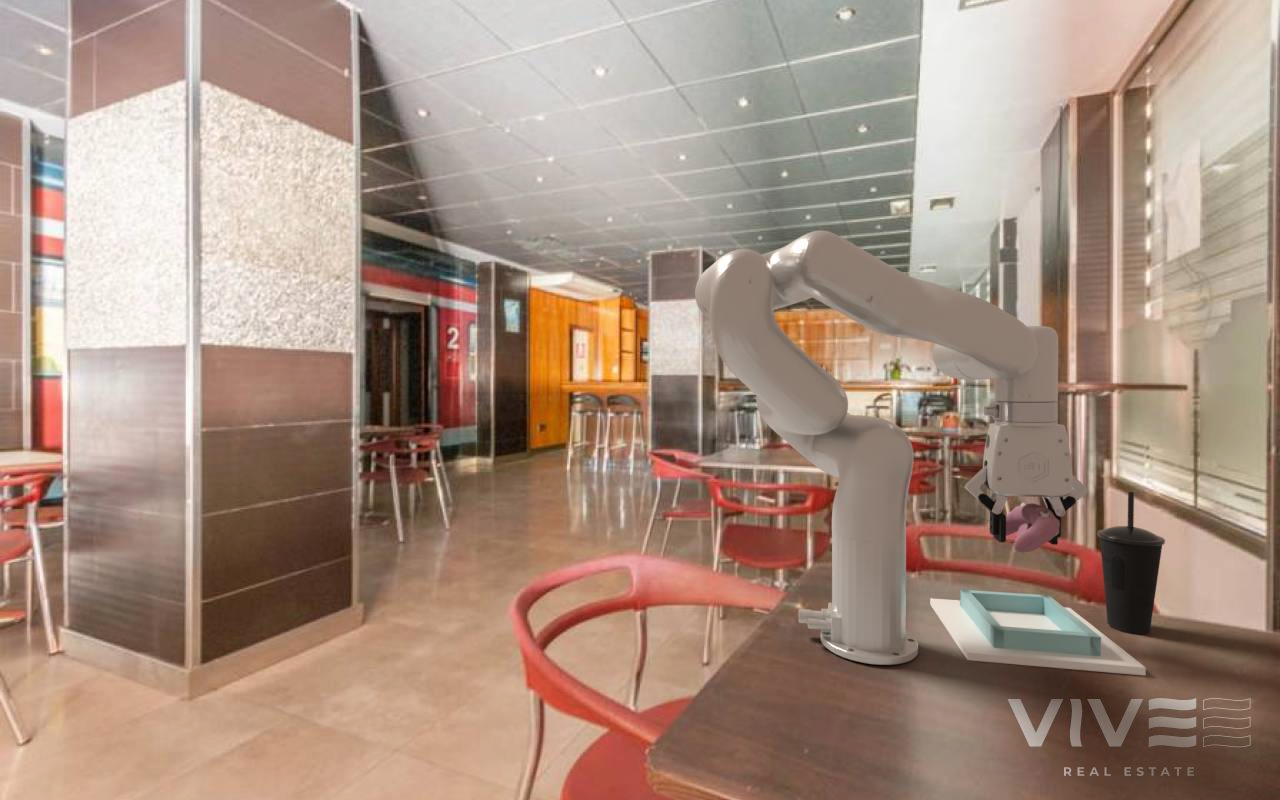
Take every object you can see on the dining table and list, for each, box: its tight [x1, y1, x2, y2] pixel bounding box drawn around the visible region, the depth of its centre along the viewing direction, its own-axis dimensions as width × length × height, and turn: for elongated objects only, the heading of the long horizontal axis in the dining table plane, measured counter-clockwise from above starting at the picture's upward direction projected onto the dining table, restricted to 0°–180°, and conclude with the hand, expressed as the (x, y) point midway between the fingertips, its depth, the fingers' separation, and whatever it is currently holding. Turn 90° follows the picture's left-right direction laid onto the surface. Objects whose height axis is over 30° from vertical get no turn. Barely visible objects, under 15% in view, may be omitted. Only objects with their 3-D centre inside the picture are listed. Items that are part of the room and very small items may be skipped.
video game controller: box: [1005, 502, 1060, 553], centre depth 86 cm, size 10×5×7 cm, turn 168°
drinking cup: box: [1097, 491, 1166, 635], centre depth 88 cm, size 8×8×20 cm
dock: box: [930, 589, 1147, 677], centre depth 86 cm, size 20×20×4 cm
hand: (1024, 539), depth 86 cm, fingers closed on video game controller, 5 cm apart
